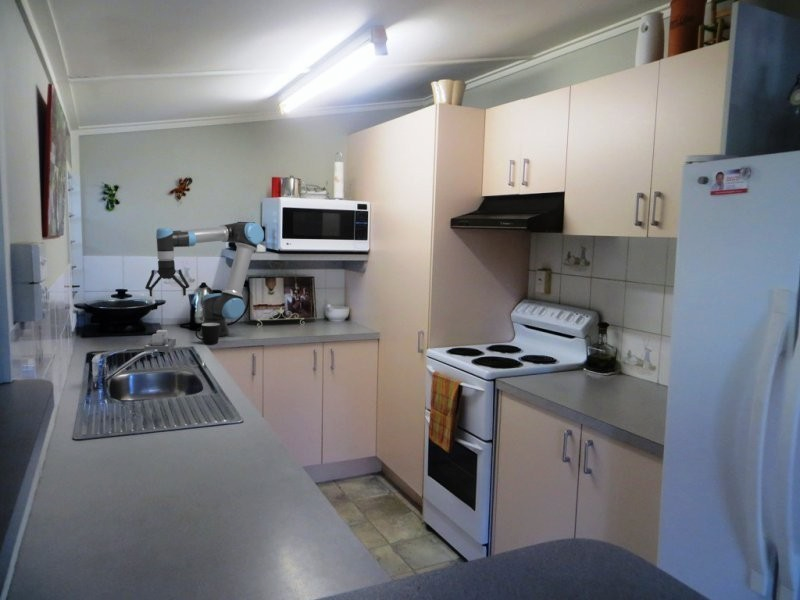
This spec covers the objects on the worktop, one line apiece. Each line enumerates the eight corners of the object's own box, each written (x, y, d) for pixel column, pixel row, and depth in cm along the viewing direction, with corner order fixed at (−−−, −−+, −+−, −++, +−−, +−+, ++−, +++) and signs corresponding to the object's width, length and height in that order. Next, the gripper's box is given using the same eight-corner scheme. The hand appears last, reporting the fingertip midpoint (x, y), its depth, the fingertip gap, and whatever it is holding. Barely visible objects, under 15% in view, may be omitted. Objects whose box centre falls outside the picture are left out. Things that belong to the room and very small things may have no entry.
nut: (164, 349, 288) (164, 333, 287) (162, 351, 283) (162, 335, 282) (154, 349, 287) (153, 333, 286) (152, 351, 282) (151, 335, 281)
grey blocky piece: (175, 344, 301) (175, 328, 300) (168, 352, 281) (168, 336, 280) (152, 344, 299) (152, 329, 298) (144, 353, 279) (143, 336, 278)
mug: (221, 342, 310) (221, 322, 309) (218, 345, 301) (218, 325, 300) (197, 341, 309) (197, 322, 307) (193, 345, 300) (193, 325, 299)
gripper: (193, 258, 296) (195, 300, 299) (140, 259, 291) (142, 302, 294) (192, 260, 289) (194, 302, 292) (137, 260, 283) (139, 304, 286)
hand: (168, 302), depth 293 cm, fingers open, 13 cm apart
